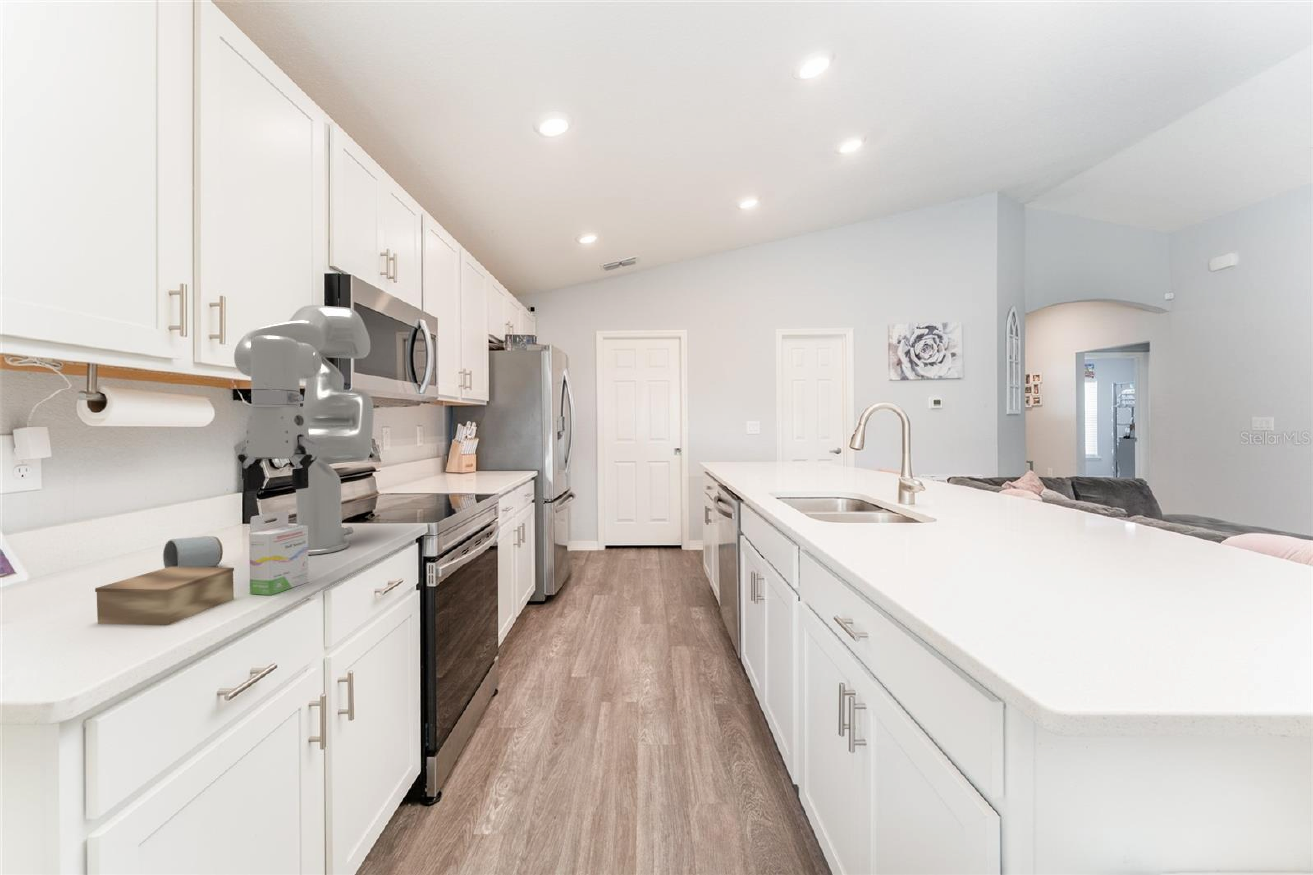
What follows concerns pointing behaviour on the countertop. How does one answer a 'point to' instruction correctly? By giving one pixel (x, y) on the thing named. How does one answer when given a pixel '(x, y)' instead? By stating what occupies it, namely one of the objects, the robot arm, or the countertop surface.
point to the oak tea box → (164, 595)
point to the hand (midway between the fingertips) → (277, 488)
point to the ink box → (277, 554)
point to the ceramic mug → (193, 552)
